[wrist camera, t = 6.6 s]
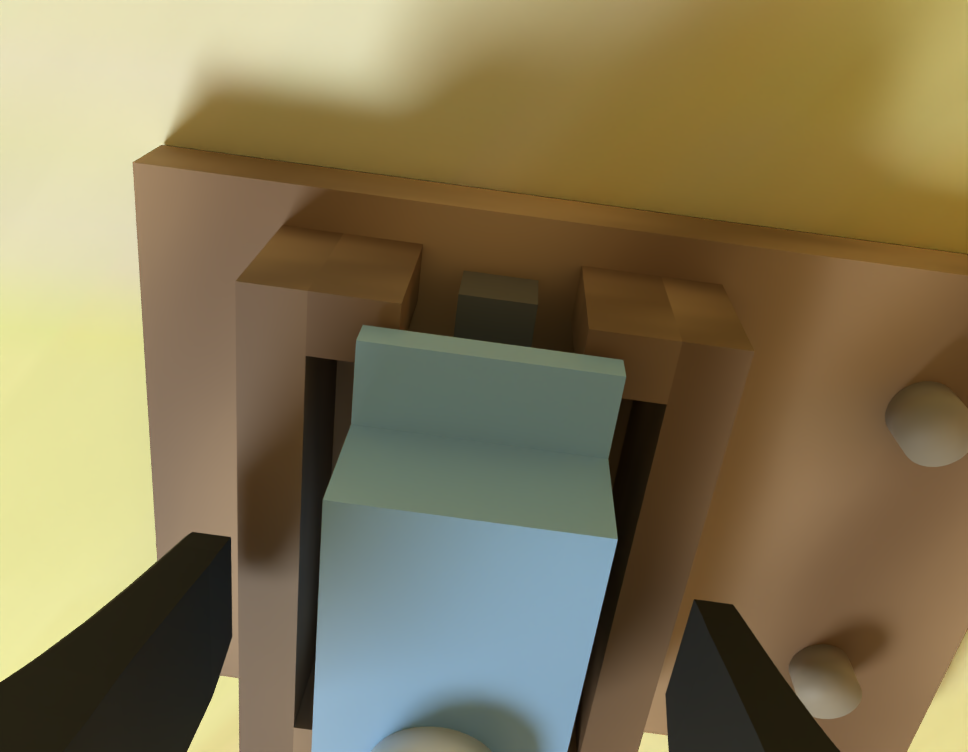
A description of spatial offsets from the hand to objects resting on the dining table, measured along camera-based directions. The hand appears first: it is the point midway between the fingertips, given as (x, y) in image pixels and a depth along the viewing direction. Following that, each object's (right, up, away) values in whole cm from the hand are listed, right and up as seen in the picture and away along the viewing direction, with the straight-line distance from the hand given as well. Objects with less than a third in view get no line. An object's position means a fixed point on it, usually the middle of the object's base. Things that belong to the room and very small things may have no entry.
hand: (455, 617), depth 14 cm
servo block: (0, +2, +3) cm, 3 cm away
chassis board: (+2, +2, +4) cm, 5 cm away
